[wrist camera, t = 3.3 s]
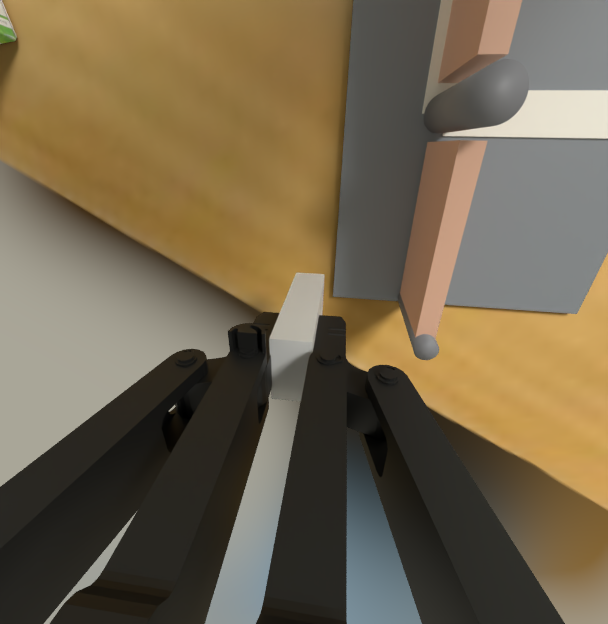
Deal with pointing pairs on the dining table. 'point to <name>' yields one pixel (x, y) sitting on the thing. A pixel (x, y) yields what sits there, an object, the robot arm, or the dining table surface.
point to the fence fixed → (478, 68)
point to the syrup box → (6, 26)
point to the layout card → (495, 165)
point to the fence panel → (437, 237)
